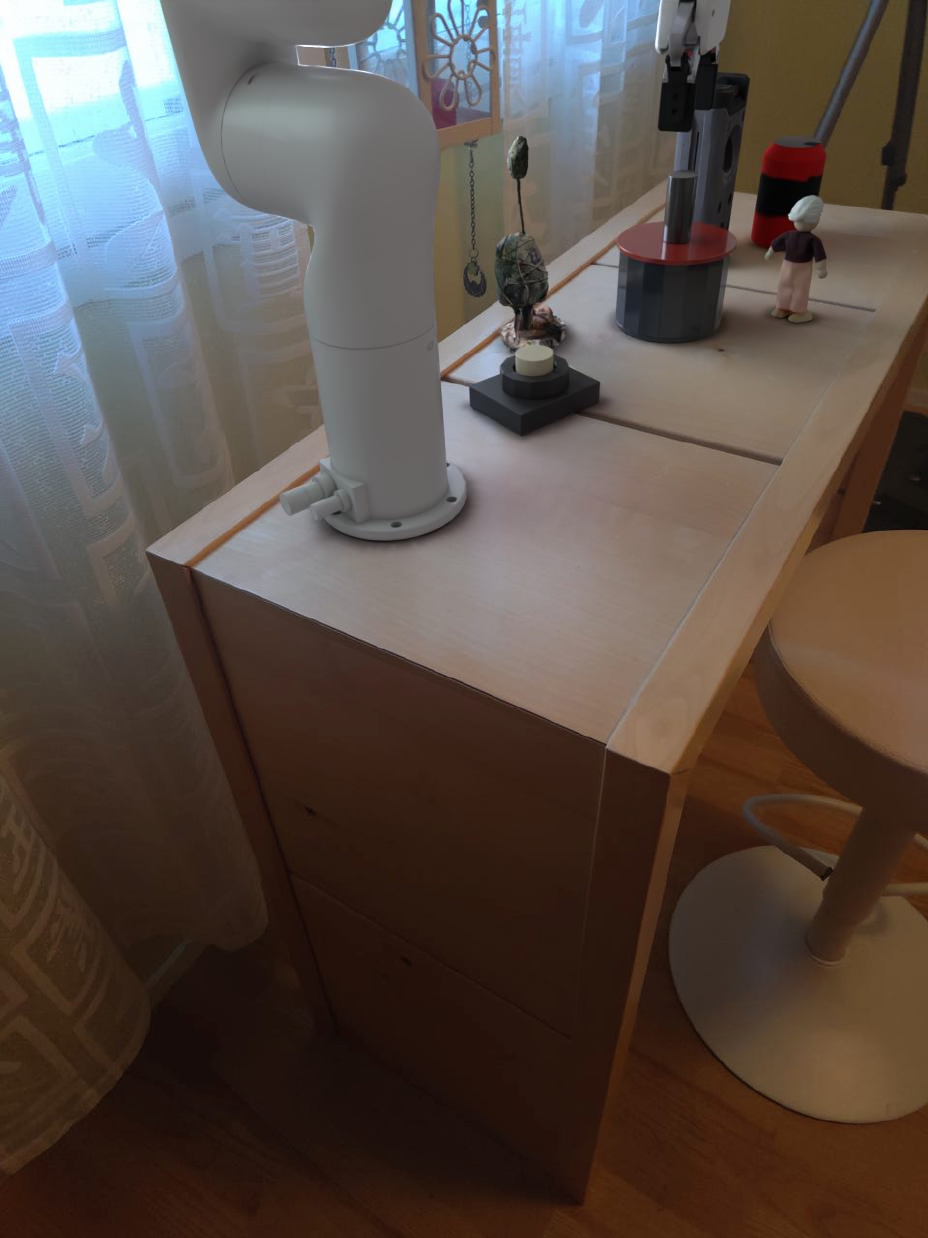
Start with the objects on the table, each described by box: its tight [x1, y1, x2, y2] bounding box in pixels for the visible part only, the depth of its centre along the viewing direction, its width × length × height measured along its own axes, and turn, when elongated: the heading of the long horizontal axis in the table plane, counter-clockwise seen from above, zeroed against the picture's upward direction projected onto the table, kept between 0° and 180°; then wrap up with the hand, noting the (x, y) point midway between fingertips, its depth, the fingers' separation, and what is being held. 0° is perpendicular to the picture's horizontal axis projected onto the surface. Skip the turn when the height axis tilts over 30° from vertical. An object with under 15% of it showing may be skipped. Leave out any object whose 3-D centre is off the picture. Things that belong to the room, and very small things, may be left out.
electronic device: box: [672, 71, 751, 231], centre depth 109 cm, size 9×6×20 cm, turn 148°
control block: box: [468, 353, 601, 437], centre depth 86 cm, size 10×8×4 cm
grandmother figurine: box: [764, 195, 829, 324], centre depth 96 cm, size 8×4×13 cm, turn 50°
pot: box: [614, 250, 731, 344], centre depth 98 cm, size 12×12×8 cm
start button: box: [515, 345, 555, 377], centre depth 85 cm, size 4×4×2 cm
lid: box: [616, 170, 738, 265], centre depth 93 cm, size 13×13×8 cm
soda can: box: [750, 135, 828, 249], centre depth 115 cm, size 8×8×12 cm
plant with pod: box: [492, 135, 568, 351], centre depth 92 cm, size 8×11×20 cm
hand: (686, 119), depth 87 cm, fingers open, 9 cm apart
